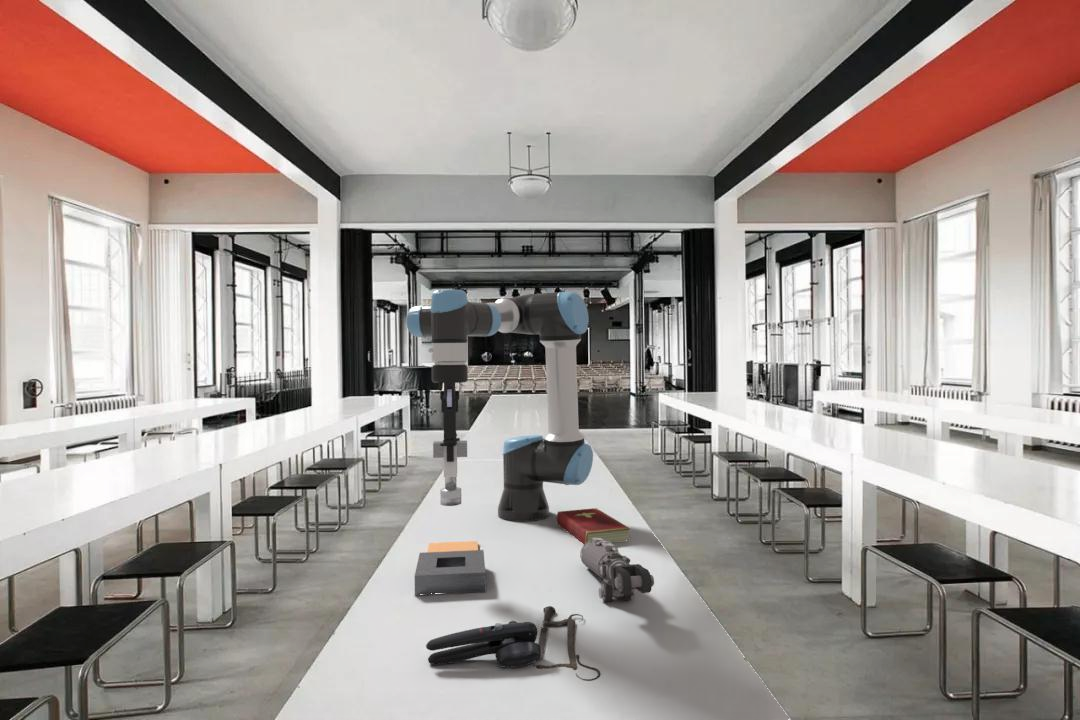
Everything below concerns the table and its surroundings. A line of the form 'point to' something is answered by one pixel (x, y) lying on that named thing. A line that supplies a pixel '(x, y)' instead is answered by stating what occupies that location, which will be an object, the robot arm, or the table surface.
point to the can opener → (489, 644)
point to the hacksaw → (571, 652)
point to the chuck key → (451, 491)
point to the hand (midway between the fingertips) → (450, 474)
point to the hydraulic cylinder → (615, 571)
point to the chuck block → (450, 572)
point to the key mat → (453, 546)
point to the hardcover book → (592, 525)
